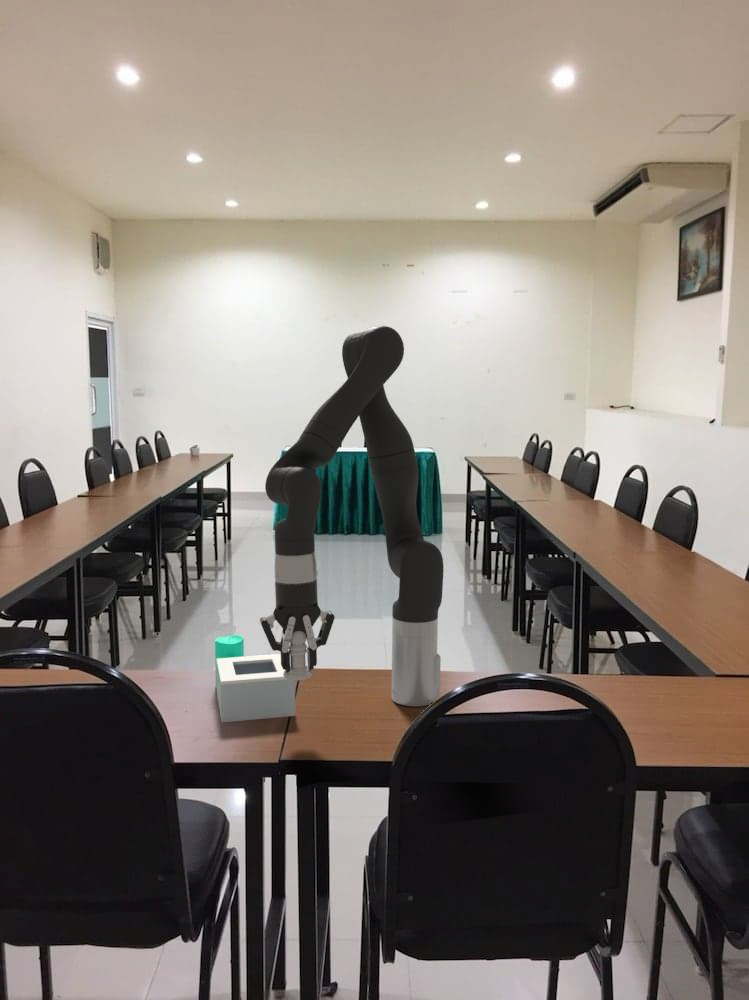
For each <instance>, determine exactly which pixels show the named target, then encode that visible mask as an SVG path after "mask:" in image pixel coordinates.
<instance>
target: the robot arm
mask: <svg viewBox="0 0 749 1000" xmlns="http://www.w3.org/2000/svg"><path fill="white" fill-rule="evenodd" d="M404 354H405V345H404V342H403V338H402V336H401V335H400V333H399V332H398V331H397V330H396V329H394V328H392V327H390V326H385V325H379V326H374V327H372V326H371V327H369V328H365V329H361V330H356V331H354V332H352V333H350V334H348V335H347V336H346V337H345V338H344V340H343V343H342V349H341V356H342V362H343V367H344V370H345V373H346V377H347V379H346V380H345V382H343V383H342V385H340V387H339V388H338V389H337V390H336V391H335V392H334V393H333V394H332V395H331V396H330V397H329V398H328V399H326V401H325V402H324V403H322V405H321V406H320V407H319V408H318V409H317V410H316V412H315V413H314V414H313V416H312V417H311V419H309V421H308V423H307V425H306V426H305V427H304V430H303V431H302V433H301V434H300V436H299V438H298V439H297V441H296V442H295V443H294V444H293V445H292V446H291V447H290V448H289V449H287V450H286V452H284V454H283V455H281V456H280V457H279V459H278V460H276V462H275V463H274V464H273V466H272V467H271V468H270V470H269V472H268V474H267V476H266V479H265V492H266V496H267V497H268V499H269V500H270V501H272V502H273V503H275V504H277V505H284V506H288V507H287V513H286V517H285V518H284V519H282V520H281V519H280V520H279V521H277V522H276V524H275V526H274V551H275V554H274V555H275V557H274V588H275V590H274V591H275V592H274V593H275V608H274V611H273V613H272V614H271V615H268V616H266V617H265V616H264V617H263V616H262V617H261V618H260V619H259V622H260V626H261V628H262V629H263V632H264V635H265V637H266V639H267V640H268V644H269V645H270V649H272V651H273V652H274V651H278V652H280V654H281V666H282V668H283V670H284V669H285V671H286V672H290V666H291V656H290V652H289V650H290V649H289V645H290V644H291V643H290V641H291V638H292V634H293V633H294V632H296V631H302V632H304V633H306V635H307V639H306V642H307V648H306V650H307V653H306V654H307V655H306V656H307V667H309V669H310V670H312V671H313V670H314V668H315V667H316V666H317V663H318V660H317V659H318V658H317V657H318V654H317V650H318V648H320V647H322V646H325V645H326V644H327V642H328V639H329V636H330V633H331V630H332V627H333V624H334V621H335V618H336V617H335V616H336V615H334V613H333V612H332V611H330V610H327V611H325V610H321V608H320V607H319V603H318V601H319V598H318V569H317V566H318V565H317V559H316V558H317V557H316V552H315V551H316V549H315V548H316V547H315V543H316V542H315V527H316V524H317V523H316V522H317V520H318V513H319V509H320V504H321V499H322V485H321V481H320V478H319V476H318V474H317V472H316V471H314V470H317V469H319V468H322V467H325V466H327V465H329V463H330V462H331V461H332V460H333V458H334V457H335V455H336V453H337V451H338V449H339V448H340V447H341V445H342V443H343V442H344V440H345V438H346V436H347V434H348V433H349V431H350V429H352V426H353V425H354V424H355V422H356V421H357V419H358V418H359V421H360V425H361V429H362V433H363V437H364V438H363V439H364V442H365V447H366V453H367V458H368V463H369V466H370V472H371V476H372V479H373V484H374V487H375V493H376V496H377V500H378V505H379V507H380V511H381V512H380V513H381V517H382V520H383V527H384V535H385V545H386V546H385V547H386V554H387V561H388V565H389V568H390V570H391V572H392V573H393V574H394V575H395V576H396V577H397V578H398V579H399V586H398V588H399V589H398V597H397V600H395V601H394V602H393V603H392V611H391V612H392V616H391V617H392V618H391V619H392V622H391V625H392V626H391V628H392V629H391V630H392V631H391V634H392V635H391V645H392V646H391V690H390V691H391V700H392V701H393V702H394V703H396V704H399V705H402V706H407V707H425V706H429V705H432V704H433V703H432V702H434V701H435V700H436V699H437V698H439V697H440V698H441V655H439V653H438V637H439V635H438V631H439V630H438V628H439V627H438V626H439V625H438V624H439V621H438V620H439V609H440V607H441V604H442V599H443V587H444V586H443V585H444V559H443V554H442V552H441V550H440V549H439V548H438V546H436V545H435V544H433V543H432V542H430V541H428V540H425V538H424V534H423V532H422V529H421V525H420V522H419V518H418V517H419V516H418V512H417V499H418V498H417V496H418V487H419V468H418V466H419V465H418V462H417V461H418V460H417V455H416V450H415V446H414V443H413V440H412V436H411V434H410V433H409V431H408V429H407V428H406V426H405V424H404V423H403V421H402V420H401V419H400V417H399V416H398V414H397V413H396V412H395V410H394V409H393V407H392V405H391V404H390V402H389V399H388V397H387V394H386V389H385V386H384V384H386V382H388V380H389V379H390V378H391V377H392V375H393V374H394V373H395V372H396V371H397V369H398V368H399V367H400V365H401V363H402V361H403V359H404ZM319 617H320V622H321V625H320V629H319V632H318V636H317V637H316V638H315V633H314V629H313V627H314V625H315V623H316V622H317V620H318V619H319ZM274 622H277V623H278V624H279V625H280V627H281V628H282V629H281V635H280V641H277V640H276V637H275V636H274V633H273V630H272V629H273V628H274V627H275V625H274ZM431 703H432V704H431ZM434 703H435V702H434Z"/></svg>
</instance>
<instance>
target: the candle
mask: <svg viewBox="0 0 749 1000" xmlns="http://www.w3.org/2000/svg"><path fill="white" fill-rule="evenodd" d="M230 634H231V632H230V631H228V635H227V636H218V637H217V638H216V639H214V651H215V653H214V656H215V659H214V660H215V668H214V669H215V689H216V688H217V662H216V658H230V657H244V653H245V652H244V650H245V647H244V645H245V643H244V641H245V639H244V637H243V636H242V635H239V634H231V635H230Z"/></svg>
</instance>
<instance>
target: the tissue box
mask: <svg viewBox="0 0 749 1000" xmlns="http://www.w3.org/2000/svg"><path fill="white" fill-rule="evenodd" d="M216 662H217V689H216V697H217V704H218V708H219V709H218V710H220V711H219V716H220V720H221V723H231V722H232V723H233V722H240V721H254V720H261V719H262V720H264V719H265V720H266V719H274V718H276V719H277V718H285V717H286V718H287V717H296V680H289V679H286V678H285V677H284V675H283V673H284V671H285V669H284V670H283V668H282V666H281V653H275V654H274V653H273V654H272V653H271V654H261V655H247V656H244V657H230V658H216Z"/></svg>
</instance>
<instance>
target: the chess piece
mask: <svg viewBox="0 0 749 1000" xmlns="http://www.w3.org/2000/svg"><path fill="white" fill-rule="evenodd" d="M306 642H307V635H306V633H304V632H302V631H296V632H294V633H293V634H292V638H291V641H290V644H289V649H288V651H289V652H290V672H286V671H284V673H283V675H284V677H285V678H286V679H289V680H295V681H302V680H304V681H305V680H307V679H309V678H311V677H312V676H313V673H314V672H313V669H312V670H310V669H309V667H308V665H306V654H307V647H308V644H306Z"/></svg>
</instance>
